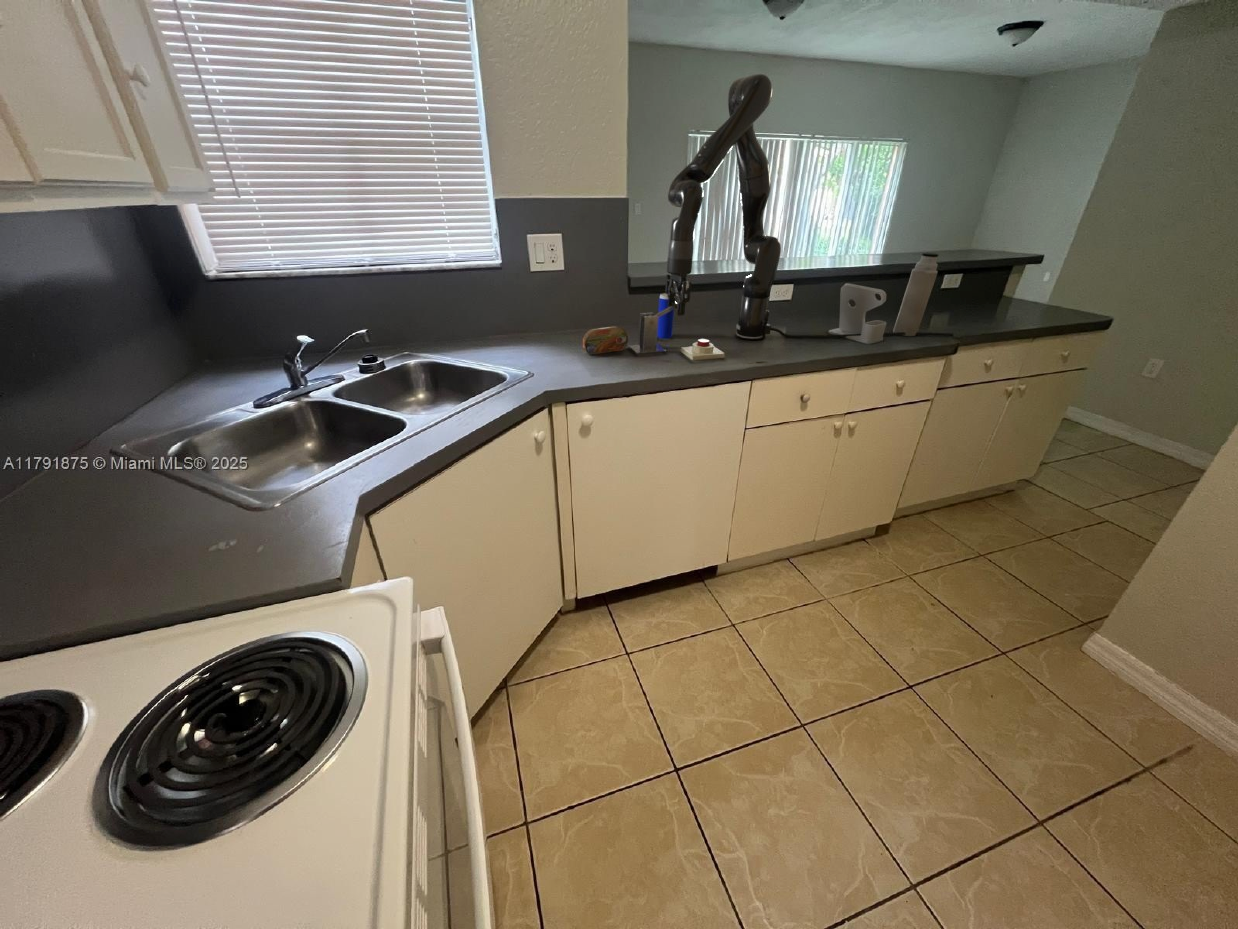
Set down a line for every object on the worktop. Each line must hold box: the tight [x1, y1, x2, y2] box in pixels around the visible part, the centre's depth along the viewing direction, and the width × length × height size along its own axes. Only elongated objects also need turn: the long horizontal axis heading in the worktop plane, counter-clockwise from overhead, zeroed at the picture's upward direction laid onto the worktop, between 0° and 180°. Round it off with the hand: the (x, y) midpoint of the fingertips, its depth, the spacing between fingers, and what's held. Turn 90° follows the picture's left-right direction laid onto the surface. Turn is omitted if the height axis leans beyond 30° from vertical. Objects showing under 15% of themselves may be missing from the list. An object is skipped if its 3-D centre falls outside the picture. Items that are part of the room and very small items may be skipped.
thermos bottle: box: [892, 252, 939, 337], centre depth 176 cm, size 8×8×28 cm
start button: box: [697, 338, 711, 347], centre depth 152 cm, size 4×4×2 cm
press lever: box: [643, 301, 678, 321], centre depth 153 cm, size 12×5×2 cm, turn 106°
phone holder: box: [828, 282, 887, 345], centre depth 174 cm, size 17×10×18 cm, turn 34°
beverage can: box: [657, 292, 675, 340], centre depth 167 cm, size 5×5×15 cm
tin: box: [582, 325, 629, 356], centre depth 152 cm, size 15×3×8 cm, turn 117°
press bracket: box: [628, 312, 667, 355], centre depth 155 cm, size 10×8×12 cm
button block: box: [680, 341, 726, 361], centre depth 153 cm, size 11×9×4 cm
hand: (675, 312), depth 154 cm, fingers open, 7 cm apart
